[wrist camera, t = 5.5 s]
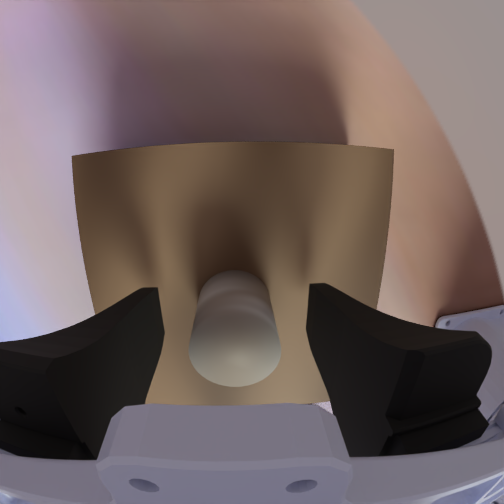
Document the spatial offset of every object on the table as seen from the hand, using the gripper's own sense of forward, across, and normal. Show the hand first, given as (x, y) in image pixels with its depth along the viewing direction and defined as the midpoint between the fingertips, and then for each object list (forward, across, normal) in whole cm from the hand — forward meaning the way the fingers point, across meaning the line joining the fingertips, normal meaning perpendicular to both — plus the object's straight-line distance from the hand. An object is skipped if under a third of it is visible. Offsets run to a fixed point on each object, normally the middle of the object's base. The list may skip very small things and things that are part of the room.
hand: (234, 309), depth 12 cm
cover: (+6, 0, 0) cm, 6 cm away
